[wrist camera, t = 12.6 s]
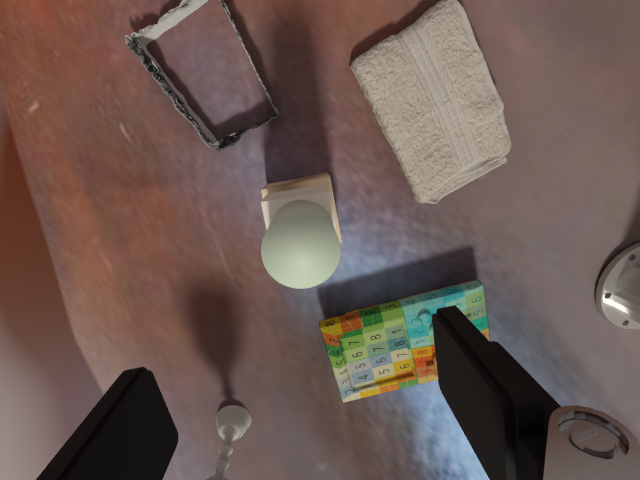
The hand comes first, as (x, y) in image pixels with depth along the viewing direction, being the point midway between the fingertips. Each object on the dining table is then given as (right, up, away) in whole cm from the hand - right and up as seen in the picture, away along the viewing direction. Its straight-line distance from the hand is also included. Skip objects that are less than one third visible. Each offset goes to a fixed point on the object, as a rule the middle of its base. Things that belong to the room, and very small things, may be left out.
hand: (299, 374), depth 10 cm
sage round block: (-1, +5, +17) cm, 18 cm away
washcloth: (+13, +19, +25) cm, 34 cm away
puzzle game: (+12, -8, +33) cm, 36 cm away
